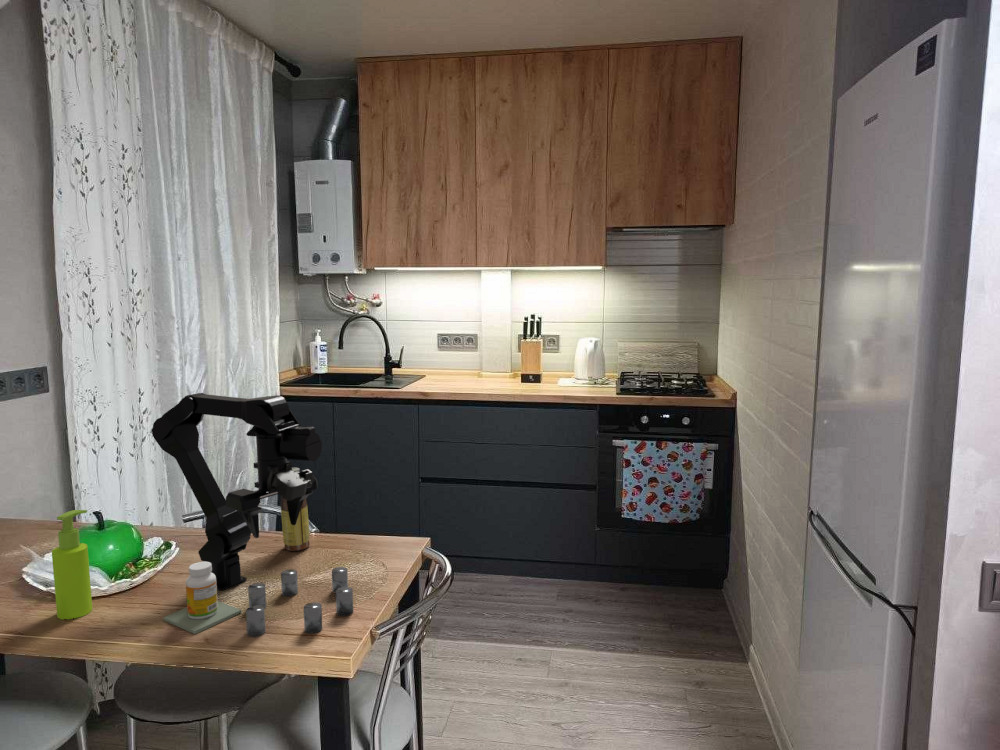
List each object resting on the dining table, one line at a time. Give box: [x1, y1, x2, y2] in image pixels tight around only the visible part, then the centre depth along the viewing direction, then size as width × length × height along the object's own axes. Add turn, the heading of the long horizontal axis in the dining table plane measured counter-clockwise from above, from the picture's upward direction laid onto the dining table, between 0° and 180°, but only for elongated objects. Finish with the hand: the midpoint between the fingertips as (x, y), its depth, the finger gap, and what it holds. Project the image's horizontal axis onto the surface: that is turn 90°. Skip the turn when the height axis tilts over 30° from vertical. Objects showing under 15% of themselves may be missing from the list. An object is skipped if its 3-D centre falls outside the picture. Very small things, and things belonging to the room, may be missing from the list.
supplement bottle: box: [185, 561, 218, 619], centre depth 130 cm, size 5×5×10 cm
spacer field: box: [245, 566, 354, 638], centre depth 133 cm, size 19×24×4 cm
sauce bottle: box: [280, 467, 311, 552], centre depth 165 cm, size 7×6×20 cm
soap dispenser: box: [51, 509, 93, 620], centre depth 132 cm, size 6×7×20 cm
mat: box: [162, 599, 242, 635], centre depth 131 cm, size 10×10×1 cm
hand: (275, 531), depth 141 cm, fingers open, 9 cm apart
